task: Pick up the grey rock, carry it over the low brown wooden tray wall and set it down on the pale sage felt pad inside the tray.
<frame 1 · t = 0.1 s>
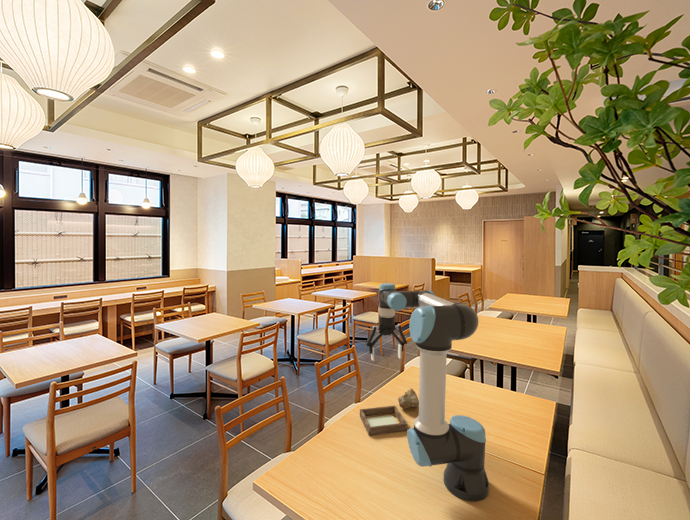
hand: (386, 358, 161), 28 cm above the table, fingers open, 13 cm apart
pad: (382, 423, 156), resting in brown wooden tray
rock: (407, 408, 170), on the table
brown wooden tray: (382, 423, 156), on the table
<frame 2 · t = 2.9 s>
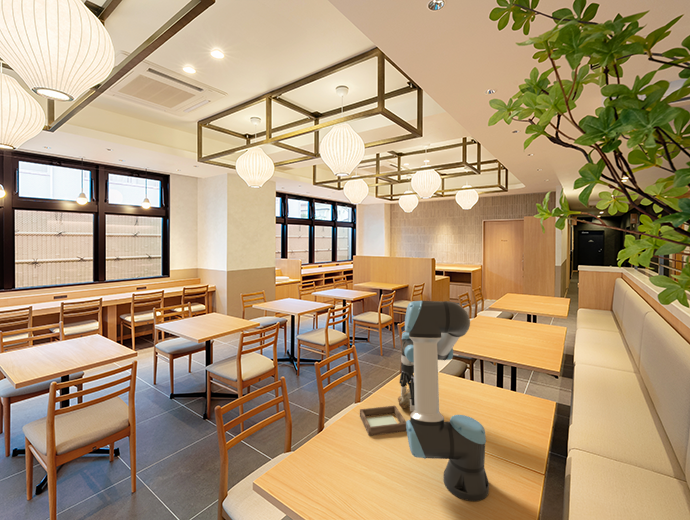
hand: (408, 404, 170), 2 cm above the table, fingers closed on rock, 11 cm apart
rock: (407, 407, 170), on the table, touching gripper
when the fingers open (4 cm above the table, at t = 9.0 s): rock drops 2 cm, resting on pad.
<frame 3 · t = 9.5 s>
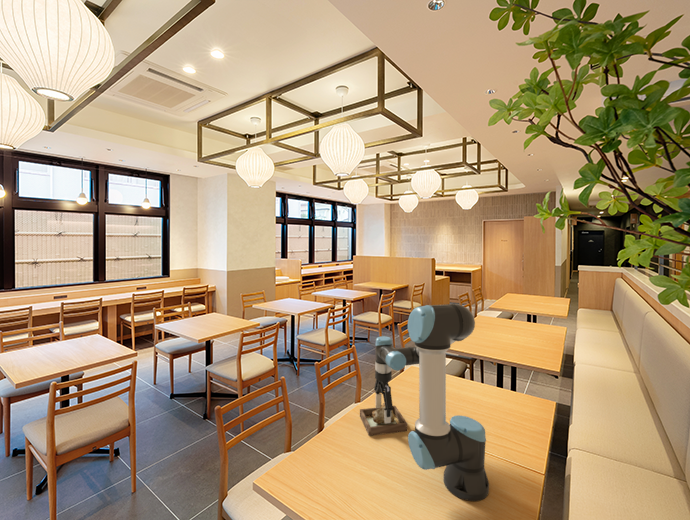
hand: (382, 414, 155), 4 cm above the table, fingers open, 13 cm apart
rock: (383, 423, 156), resting on pad
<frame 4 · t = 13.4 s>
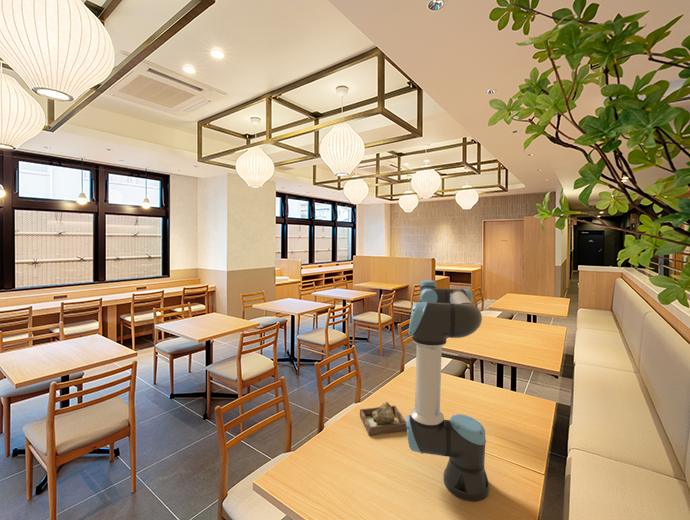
hand: (426, 353, 166), 29 cm above the table, fingers open, 13 cm apart
nothing on the table moved.
at the end: rock inside the target area on the brown wooden tray (0.2 cm from its centre), point 0.1 cm above the brown wooden tray's base; the gripper is holding nothing; rock tilted 0° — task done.
